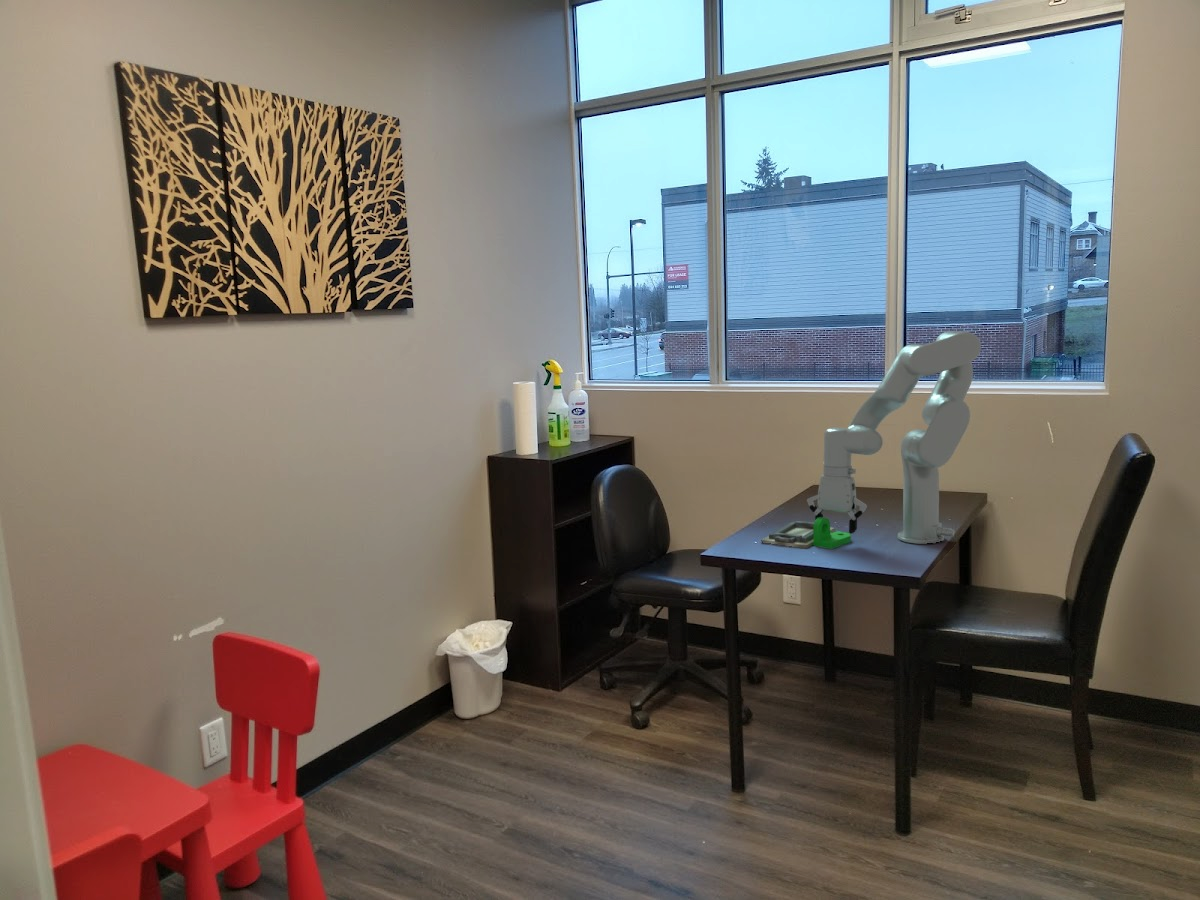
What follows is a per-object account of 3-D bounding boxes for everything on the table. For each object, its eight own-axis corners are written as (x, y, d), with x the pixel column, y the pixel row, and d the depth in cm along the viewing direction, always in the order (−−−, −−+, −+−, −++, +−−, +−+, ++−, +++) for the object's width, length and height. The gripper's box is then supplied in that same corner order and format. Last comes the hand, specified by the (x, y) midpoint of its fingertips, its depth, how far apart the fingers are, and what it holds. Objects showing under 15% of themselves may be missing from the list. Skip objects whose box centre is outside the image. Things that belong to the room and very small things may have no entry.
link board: (835, 531, 261) (834, 522, 260) (806, 548, 243) (806, 539, 243) (791, 526, 269) (791, 518, 268) (761, 543, 251) (761, 534, 251)
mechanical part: (831, 549, 242) (831, 521, 240) (813, 546, 246) (813, 519, 245) (854, 540, 250) (854, 513, 248) (836, 537, 254) (836, 511, 253)
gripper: (871, 472, 242) (869, 531, 244) (813, 467, 252) (811, 524, 254) (862, 476, 236) (861, 537, 238) (802, 470, 246) (801, 529, 248)
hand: (835, 530), depth 246 cm, fingers open, 9 cm apart
